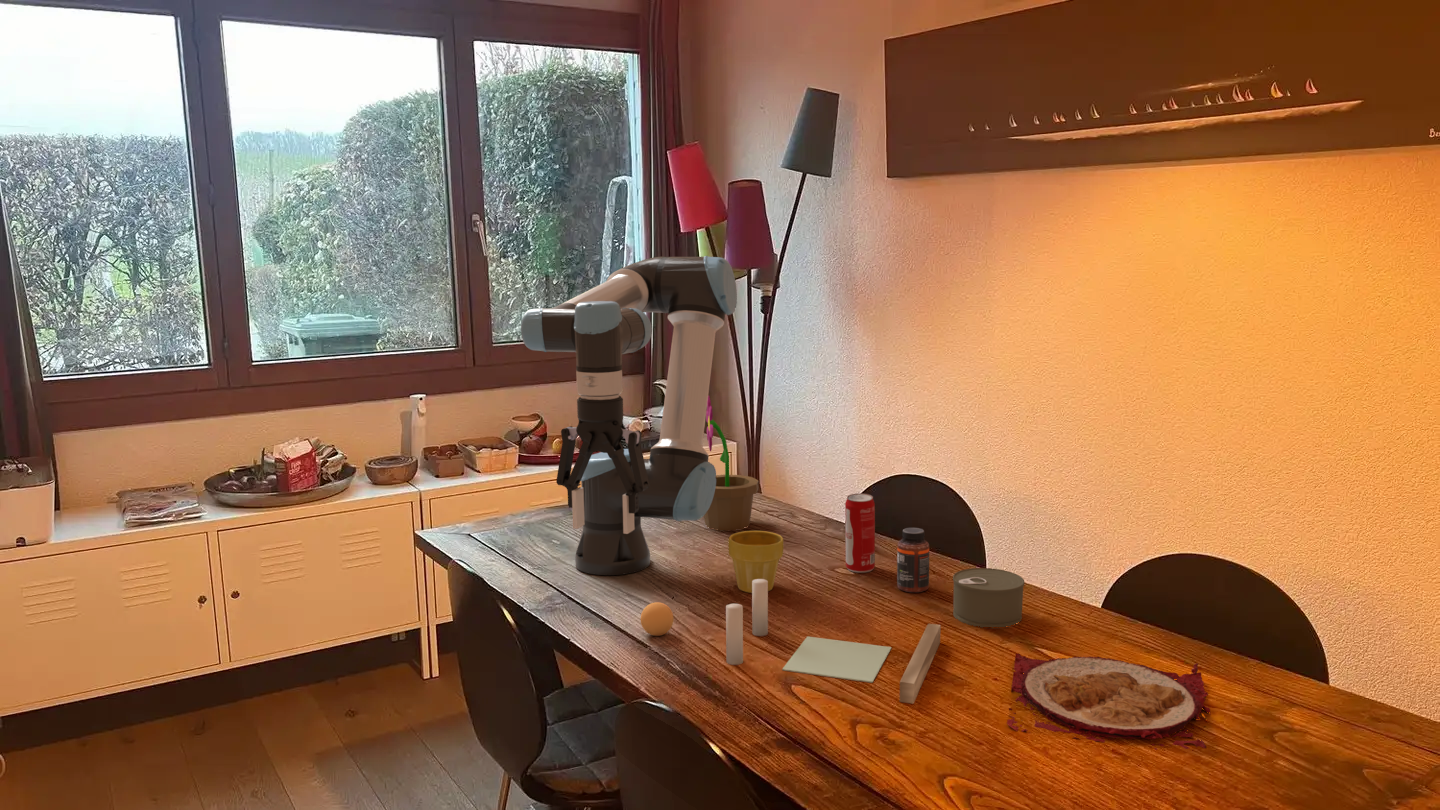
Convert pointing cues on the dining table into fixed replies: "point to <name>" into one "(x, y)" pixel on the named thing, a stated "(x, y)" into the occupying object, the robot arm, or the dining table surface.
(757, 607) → the post
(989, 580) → the can
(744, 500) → the flowerpot
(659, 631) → the ball
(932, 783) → the dining table surface
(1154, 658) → the dining table surface
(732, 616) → the post
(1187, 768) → the dining table surface
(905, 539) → the supplement bottle
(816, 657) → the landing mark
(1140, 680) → the plate with food
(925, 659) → the wall
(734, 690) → the dining table surface
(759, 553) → the plant pot
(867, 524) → the beverage can
